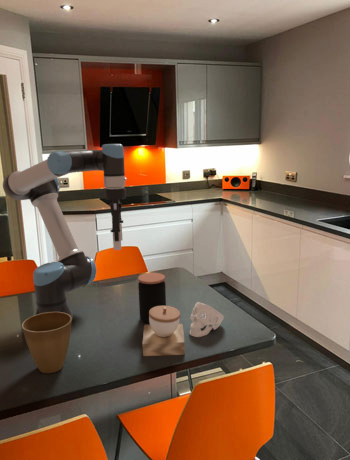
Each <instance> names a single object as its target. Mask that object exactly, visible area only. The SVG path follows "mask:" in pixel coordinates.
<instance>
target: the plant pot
mask: <svg viewBox="0 0 350 460" xmlns="http://www.w3.org/2000/svg"><path fill="white" fill-rule="evenodd" d="M71 321H72V322H73V320H72V318H71V316H70V315H69V314H67V313H63V312H46V313H41V314H37V315H32V316H30V317H28V318H26V319H25V320H24V321H23V322H22V324H21V328H22V331H23V336H24V339H25V342H26V345H27V347H28V350H29V352H30V354H31V357H32V360H33V362H34V363H35V365H36V367H37V368H38V370H39V371H40V372H41V373H42V374H52V373H57V372H59V371H60V370H62V369H63V367H64V364H65V361H66V358H67V354H68V349H69V345H70V339H71V332H72V331H71V330H72V322H71Z"/></svg>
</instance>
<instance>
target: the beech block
mask: <svg viewBox="0 0 350 460" xmlns="http://www.w3.org/2000/svg"><path fill="white" fill-rule="evenodd" d="M142 335H143V337H142V344H141V345H142V356H143V357H149V356H150V357H154V356H155V357H156V356H158V357H159V356H180V355H183V356H184V355H185V351H186V350H185V349H186V348H185V347H186V346H185V336H184V335H185V334H184V326H183V323H179V324H178V327H177V329H176V331H175V332H174V333H172V334H171V335H170V336H168V337H161V336H158V335H156V334H155V332H154V331H153V330H152V329H151V327H150V325H148V324H144V326H143V333H142Z"/></svg>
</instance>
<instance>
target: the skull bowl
mask: <svg viewBox="0 0 350 460" xmlns="http://www.w3.org/2000/svg"><path fill="white" fill-rule="evenodd" d="M224 318H225V317H224V315H223V314H222V313H221V312H219V311H218V310H216V309H215V308H213V307H212V306H210V305H208V304H205V303H202V302H199V301H197V302H196V303H195V305H194V306H193V308H192V311H191V314H190V316H189V319H190V320H191V323H190V326H189V327H190V330H189V336H191V337H194V338H201V337H204V336H207V335H209V333H210V332H211V331H212V330H214V331H215V330H217V329H218V328H219V327H220V325H221V323H222V322H223V321H224Z"/></svg>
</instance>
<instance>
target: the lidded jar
mask: <svg viewBox="0 0 350 460" xmlns="http://www.w3.org/2000/svg"><path fill="white" fill-rule="evenodd" d="M180 317H181V312H180V310H179V309H177V308H176V307H173V306H170V305H166V306H156V307H153V308H151V309H150V311H149V323H150V327H151V329H152V330H153V331H154V332H155V334H156V335H158V336H161V337H168V336H170V335H171V334H172V333H174V332H175V331H176V329H177V327H178V324H180V319H181V318H180Z"/></svg>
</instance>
